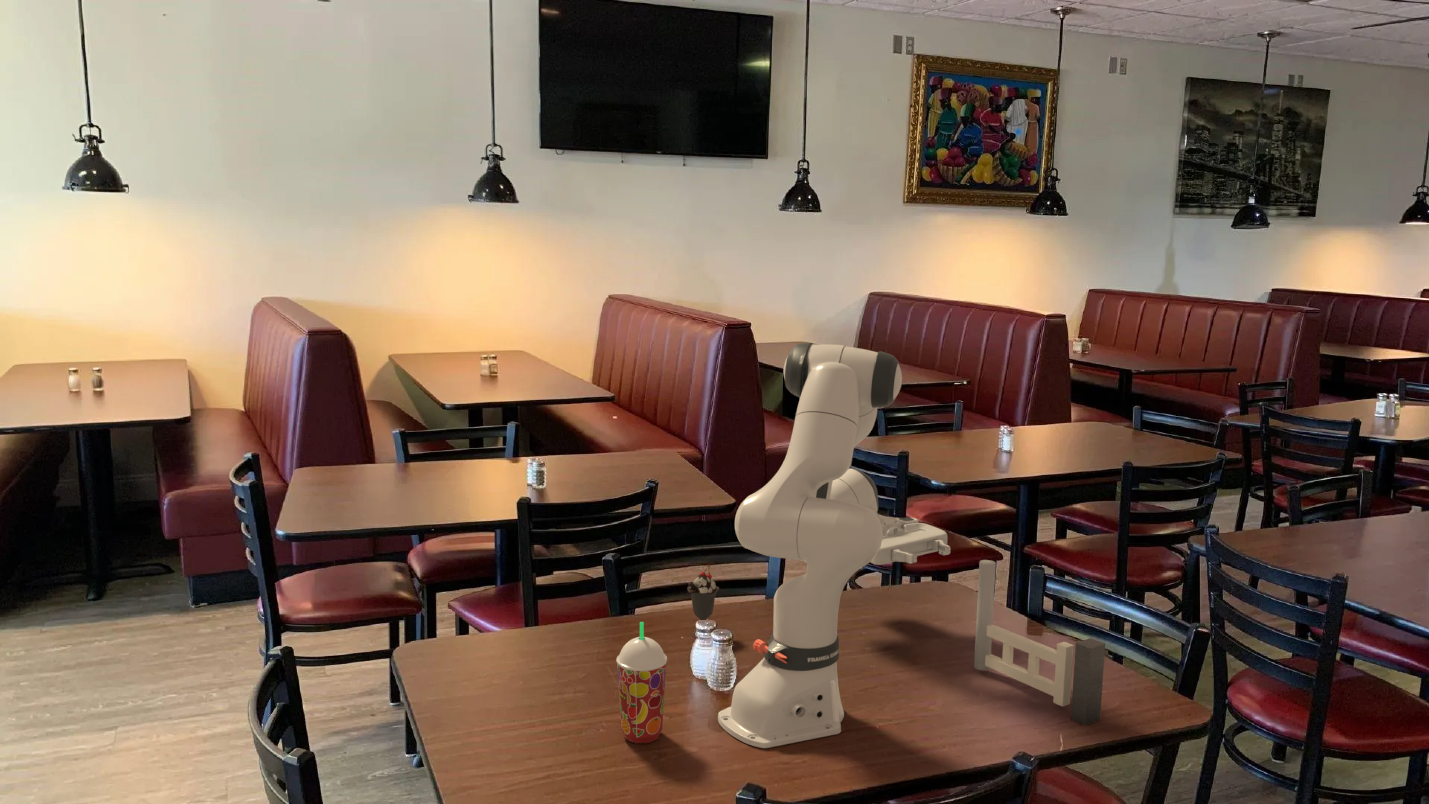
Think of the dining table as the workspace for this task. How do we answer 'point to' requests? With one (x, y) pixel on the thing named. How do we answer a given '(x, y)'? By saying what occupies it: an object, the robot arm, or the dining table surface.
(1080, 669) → the hinge post
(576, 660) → the dining table surface
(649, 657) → the smoothie
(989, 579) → the gate
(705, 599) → the sundae
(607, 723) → the dining table surface
